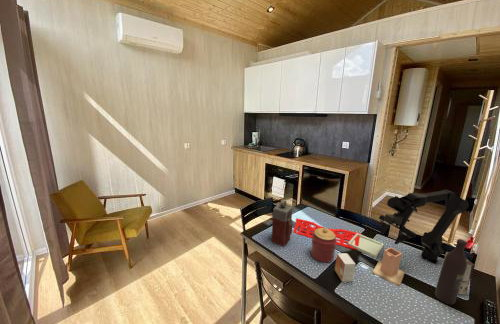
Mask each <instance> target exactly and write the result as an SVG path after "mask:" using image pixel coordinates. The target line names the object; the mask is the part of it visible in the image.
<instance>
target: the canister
mask: <svg viewBox="0 0 500 324" xmlns="http://www.w3.org/2000/svg"><path fill="white" fill-rule="evenodd" d="M311 235H312V236H313V238H311V248H310V253H311V256H312V257H313V259H314V260H316V261H319V262H321V263H330V262H332V261H333V260H334V259H335V250H336V246H337V245H336V244H335V243H336V242H338V241H337V240H336V239H337V238H336V237H335V234H334V233H333V232H332V231H331V230H329V229H328V228H327V227H325V228H319V229H316V230H315V232H313V234H311Z"/></svg>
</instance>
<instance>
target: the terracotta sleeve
mask: <svg viewBox="0 0 500 324" xmlns="http://www.w3.org/2000/svg"><path fill="white" fill-rule="evenodd" d="M383 251H384V252H383V256H382V259H381V262H382V264H381V269H380V270H381V271H383V272H384V273H386V274H387V275H389V276H390V277H393V276H394V275H396V274H398V269H399V270H400V265H401V261H402V260H401V259H402V257H403V253H402V252H401V251H398V250H397V249H396V248H395V249H394V248H393V247H389V248H387V249H384V250H383Z"/></svg>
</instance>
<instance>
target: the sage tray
mask: <svg viewBox="0 0 500 324" xmlns="http://www.w3.org/2000/svg"><path fill="white" fill-rule="evenodd" d="M356 233H357V234H356V235H355V236H354V237H353V238H352V239H351V240H350V241H347V242H348V244H347V245H349V246H351V247H353V248H356V249H357V250H356V251H358V252H360V253H362V254H366V255H367V256H369V257H371V258H374V259H377V258H378V256H379V255H380V252H381V251H382V250H383V247H384V243H383V242H381V241H378V240H377V239H376V240H375V239H373V238H371V237H367V236H365V235H363V234H362V233H360V234H358V233H359V232H356ZM361 234H362V235H361ZM357 236H359V237H360V239H359V246H356V245H355V239H356V237H357ZM351 243H352V244H351Z"/></svg>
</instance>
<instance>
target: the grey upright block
mask: <svg viewBox="0 0 500 324" xmlns="http://www.w3.org/2000/svg"><path fill="white" fill-rule="evenodd" d="M449 252H450V251H445V254H444V258H443V260H444V259H445V257H446V255H447V254H448V253H449ZM466 260H467V268H466V271H465V274H464V277H463V280H462V283H461V286H460V289H459V292H458V294H459V295H463V296H464V295H466V293H467V291H468V288H469V285H470V282H471V278H472V275H473V273H474V270H475V266H476V265H475V264H474V263H473V262H471V260H469V259H468V258H467V257H466ZM443 263H444V261H443ZM443 263H442V266H443Z"/></svg>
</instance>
